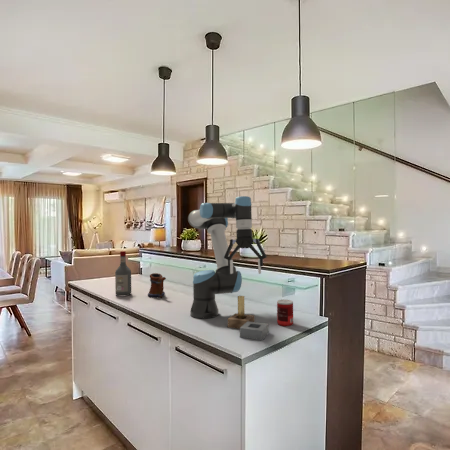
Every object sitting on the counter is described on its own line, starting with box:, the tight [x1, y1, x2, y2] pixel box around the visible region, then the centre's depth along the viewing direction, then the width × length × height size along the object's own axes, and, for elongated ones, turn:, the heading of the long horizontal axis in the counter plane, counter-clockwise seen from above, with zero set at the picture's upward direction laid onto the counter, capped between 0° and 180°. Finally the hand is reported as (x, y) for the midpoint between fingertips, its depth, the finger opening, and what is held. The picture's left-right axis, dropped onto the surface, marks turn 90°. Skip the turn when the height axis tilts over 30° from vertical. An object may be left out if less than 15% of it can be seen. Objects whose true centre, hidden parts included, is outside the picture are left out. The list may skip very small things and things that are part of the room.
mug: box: [147, 272, 167, 299], centre depth 218 cm, size 18×12×15 cm, turn 37°
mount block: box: [227, 312, 256, 330], centre depth 156 cm, size 10×10×4 cm
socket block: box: [239, 321, 270, 341], centre depth 143 cm, size 10×10×4 cm
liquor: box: [114, 250, 132, 296], centre depth 226 cm, size 9×9×30 cm
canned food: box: [276, 299, 294, 327], centre depth 158 cm, size 8×8×11 cm
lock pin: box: [237, 295, 246, 319], centre depth 156 cm, size 3×3×14 cm
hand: (245, 273), depth 155 cm, fingers open, 13 cm apart
